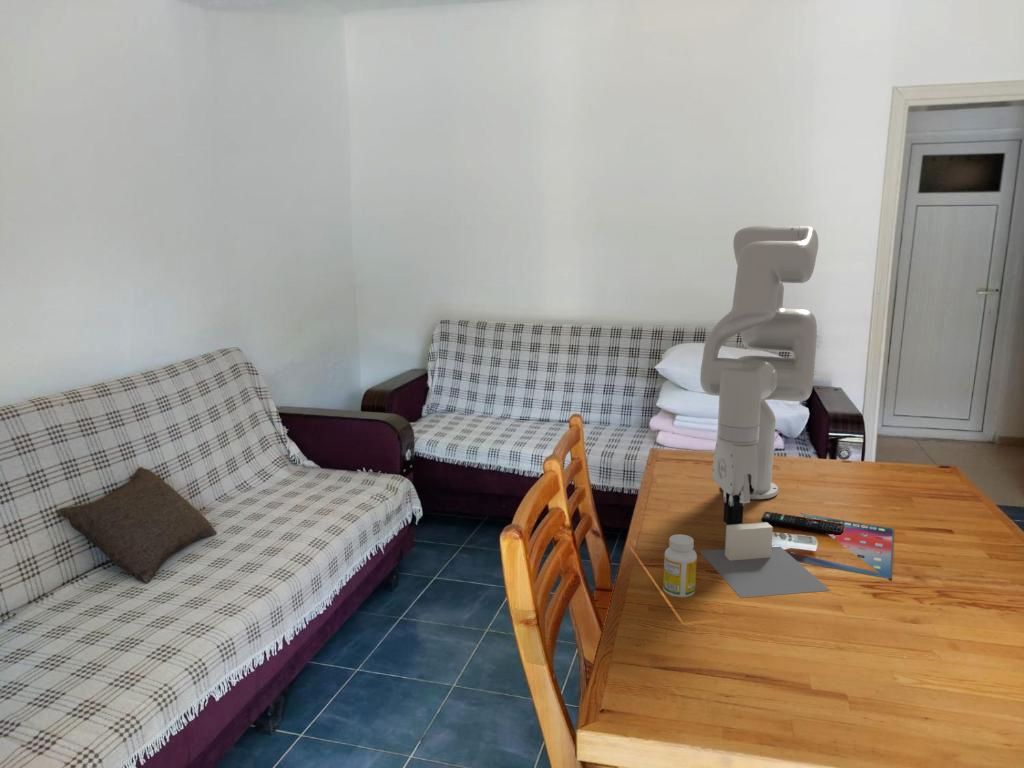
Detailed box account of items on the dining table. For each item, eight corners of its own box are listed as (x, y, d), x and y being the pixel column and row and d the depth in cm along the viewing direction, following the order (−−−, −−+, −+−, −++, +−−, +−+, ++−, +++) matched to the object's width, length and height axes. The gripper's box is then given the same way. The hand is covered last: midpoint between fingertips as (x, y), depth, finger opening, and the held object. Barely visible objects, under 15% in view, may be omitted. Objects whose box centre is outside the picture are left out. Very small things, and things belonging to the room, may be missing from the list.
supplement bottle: (666, 599, 125) (668, 546, 123) (660, 583, 130) (662, 532, 128) (698, 599, 125) (701, 545, 123) (691, 583, 130) (693, 532, 128)
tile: (724, 554, 140) (726, 524, 138) (764, 551, 141) (766, 522, 140) (729, 560, 137) (731, 530, 136) (770, 557, 139) (772, 527, 137)
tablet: (894, 531, 151) (894, 527, 151) (891, 584, 130) (891, 579, 130) (794, 515, 160) (794, 511, 160) (776, 562, 138) (776, 557, 138)
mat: (699, 553, 142) (699, 551, 141) (778, 547, 144) (778, 545, 144) (740, 600, 124) (740, 597, 124) (830, 592, 126) (830, 590, 126)
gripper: (703, 422, 148) (699, 509, 152) (736, 445, 133) (730, 540, 137) (739, 420, 149) (734, 507, 153) (775, 442, 134) (769, 537, 138)
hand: (732, 522), depth 145 cm, fingers closed
